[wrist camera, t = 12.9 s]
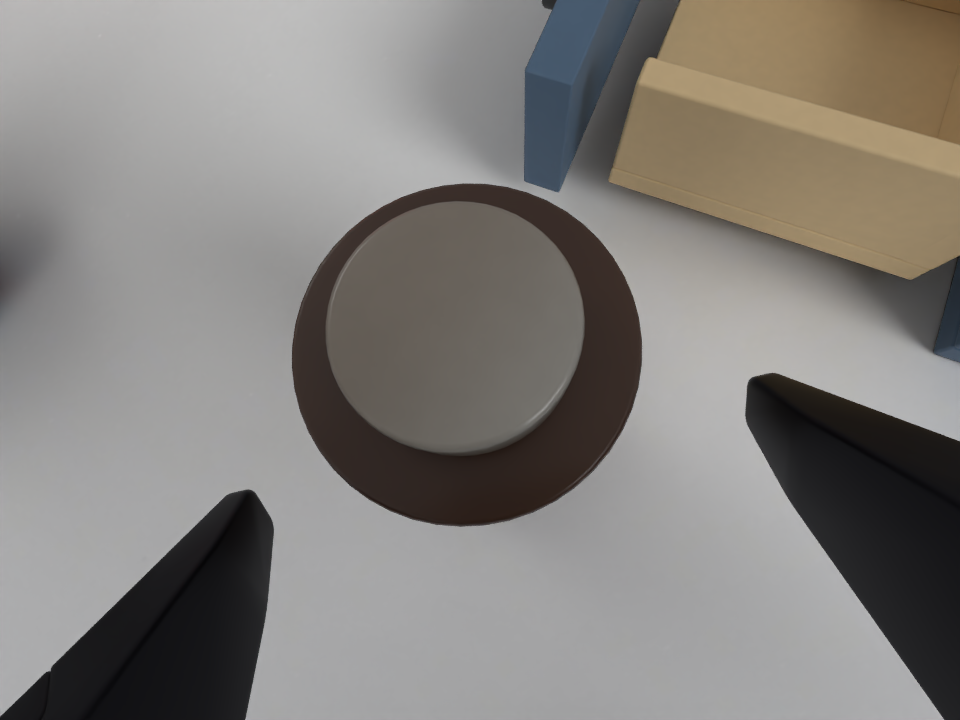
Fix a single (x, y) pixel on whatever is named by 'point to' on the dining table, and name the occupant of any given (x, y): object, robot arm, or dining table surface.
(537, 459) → the pepper mill
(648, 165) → the drawer
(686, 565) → the dining table surface
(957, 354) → the cabinet
